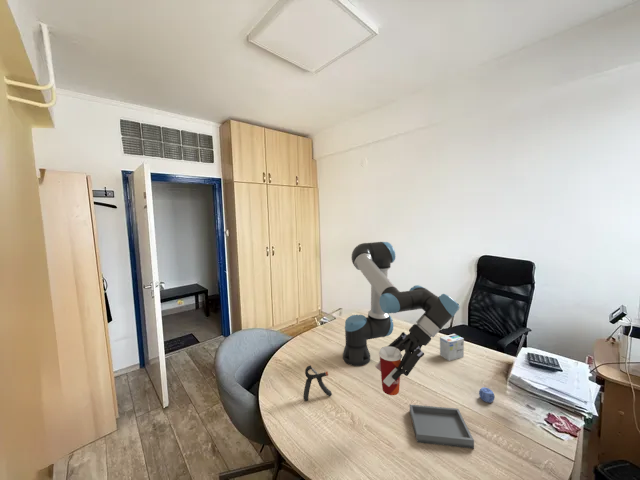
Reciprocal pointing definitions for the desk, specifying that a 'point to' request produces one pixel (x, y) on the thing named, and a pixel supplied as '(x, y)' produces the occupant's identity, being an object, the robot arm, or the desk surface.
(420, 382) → the desk surface
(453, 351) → the light bulb box
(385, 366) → the coffee cup
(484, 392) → the decorative dice
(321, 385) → the hand grip strengthener
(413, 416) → the tray
